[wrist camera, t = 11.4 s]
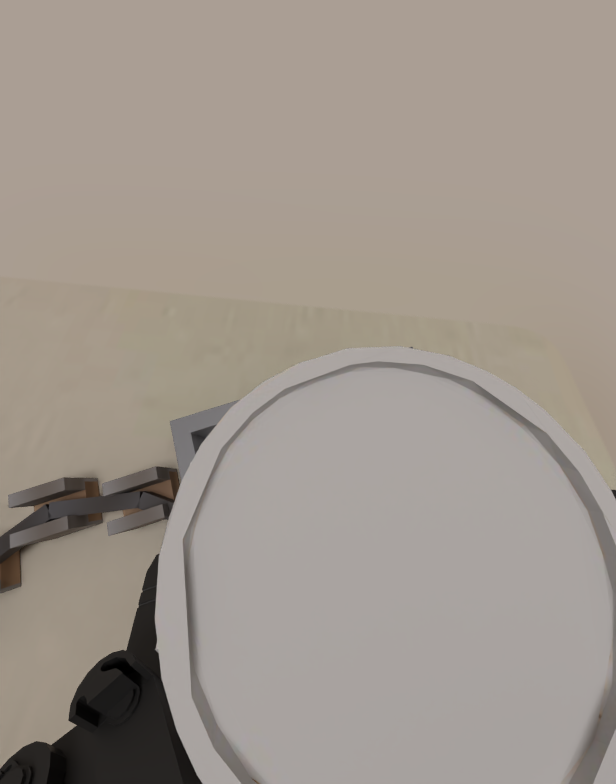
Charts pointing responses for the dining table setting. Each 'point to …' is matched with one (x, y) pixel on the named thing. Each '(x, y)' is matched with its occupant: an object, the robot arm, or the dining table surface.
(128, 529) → the clip strip
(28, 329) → the dining table surface
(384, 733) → the disposable coffee cup
